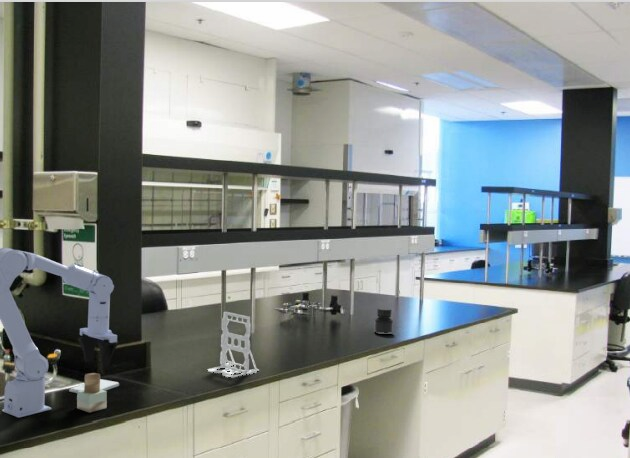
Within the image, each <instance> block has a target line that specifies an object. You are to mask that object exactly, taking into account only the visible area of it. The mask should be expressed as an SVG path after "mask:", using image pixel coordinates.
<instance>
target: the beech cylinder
mask: <svg viewBox="0 0 630 458" xmlns="http://www.w3.org/2000/svg"><path fill="white" fill-rule="evenodd" d="M100 379H101V374H100V373H96V372H91V373H85V375H84V384H85V386H84V392H85V393H97V392H99V391H100Z"/></svg>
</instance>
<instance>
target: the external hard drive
mask: <svg viewBox="0 0 630 458" xmlns="http://www.w3.org/2000/svg"><path fill="white" fill-rule="evenodd" d="M84 386H85V383H83V384H79V385H76V386H74V387H71V388H69V389H68V390H69V391H68V392H70V393H75V394H77V391H81V390H84ZM119 386H120V383H119V382H118V381H112V380H108V379H103V378H102V379H101V378H100V389H101V390H104V391H108V390H111V389H113V388H117V387H119Z"/></svg>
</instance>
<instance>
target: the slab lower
mask: <svg viewBox="0 0 630 458" xmlns="http://www.w3.org/2000/svg"><path fill="white" fill-rule="evenodd" d="M107 403H108V401H107V399H106V401H102V402H98V403H94V404H90V405H89V404H86V403H83V402H80V401H78V400H77V399H76V405H77V406H76V408H77V409H78V410H81V411H84V412H87V413H93V412H97V411H101V410H104V409H107V406H108V405H107Z"/></svg>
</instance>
